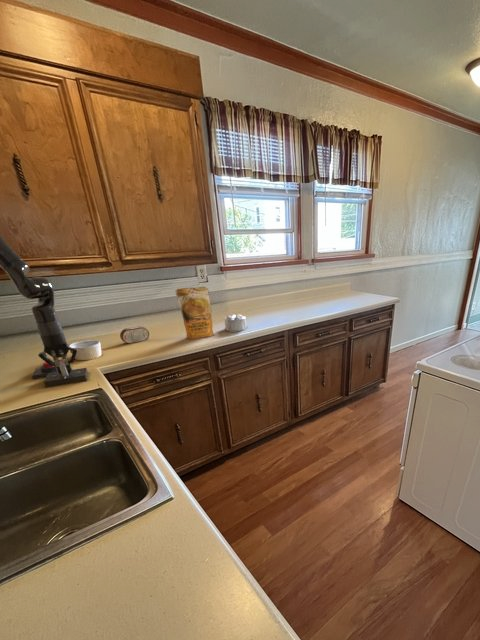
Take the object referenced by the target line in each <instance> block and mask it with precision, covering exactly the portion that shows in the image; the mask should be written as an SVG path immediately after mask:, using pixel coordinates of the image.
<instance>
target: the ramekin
mask: <svg viewBox="0 0 480 640" xmlns="http://www.w3.org/2000/svg"><path fill="white" fill-rule="evenodd" d="M68 345H69V344H68ZM101 345H102V344H101V341H100V340H95V339H91V340H88V339H87V340H81V341H77V342H73V343H71V344H70V345H69V346H70V347H71V348H77V353H76V356H75V359H74V360H77V361H89V360H95V359H97V358H99V357H101V356H102V347H101Z"/></svg>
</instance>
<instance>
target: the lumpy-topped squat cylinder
mask: <svg viewBox="0 0 480 640" xmlns="http://www.w3.org/2000/svg"><path fill="white" fill-rule="evenodd" d="M246 318H247V317H246V316H244V315H242V314H236V315H235V314H233V313H232V314H231V315H227V316H226V317H224V327H225V330H226V331H227V332H229V333H232V332H233V333H234V332H241V331H245V330H246V329H247V319H246Z"/></svg>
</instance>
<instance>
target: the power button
mask: <svg viewBox="0 0 480 640" xmlns="http://www.w3.org/2000/svg"><path fill="white" fill-rule="evenodd" d="M42 365H44V367H46V368H47V367H52V366H50V365H49V364H48V363H46V362H45V361H44V362H43V364H42Z"/></svg>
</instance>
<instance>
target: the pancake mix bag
mask: <svg viewBox="0 0 480 640" xmlns="http://www.w3.org/2000/svg"><path fill="white" fill-rule="evenodd" d="M175 295H176V300H177V302H178V303H177V304H178V306H179V311H180V313H181V316H182V319H183V324H184V327H185V331H186V337H185V339H190V340H192V339H199V338H210V337H212V336H215V334H214V330H213V329H214V327H213V314H212V303H211V297H210V292H209V288H207V287H206V286H197V287H182V288H176V289H175Z"/></svg>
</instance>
